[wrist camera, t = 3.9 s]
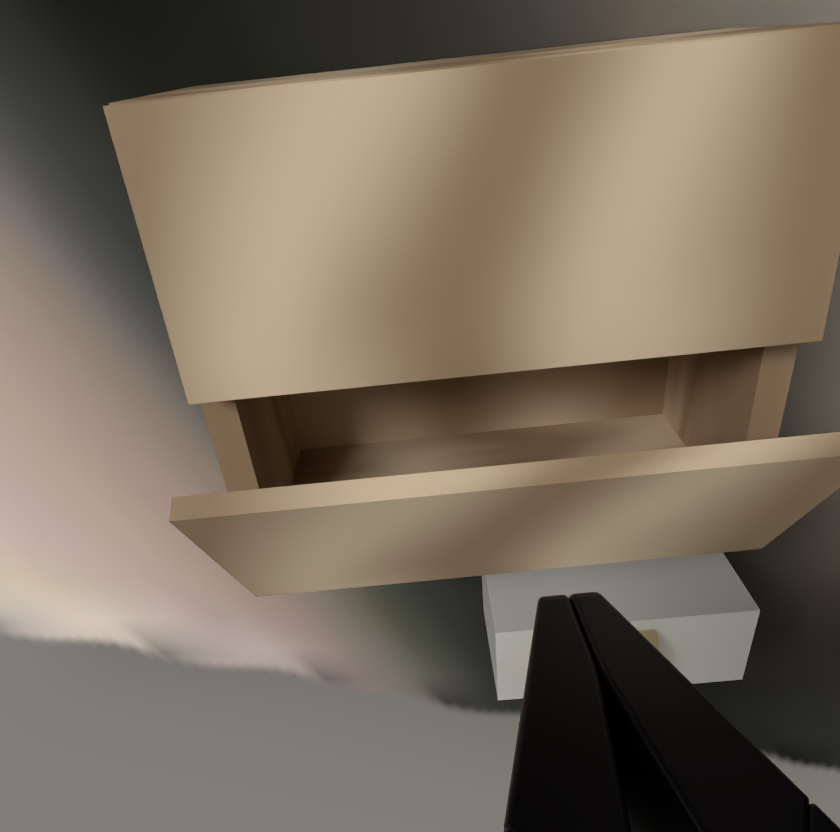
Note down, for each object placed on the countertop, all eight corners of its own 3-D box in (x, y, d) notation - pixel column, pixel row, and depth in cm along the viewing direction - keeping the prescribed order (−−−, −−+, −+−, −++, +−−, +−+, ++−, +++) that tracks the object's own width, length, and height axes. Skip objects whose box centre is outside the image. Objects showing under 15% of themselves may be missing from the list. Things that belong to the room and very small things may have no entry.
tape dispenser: (704, 524, 25) (792, 659, 20) (692, 589, 27) (770, 729, 22) (479, 543, 26) (504, 684, 20) (483, 607, 27) (505, 752, 22)
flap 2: (874, 428, 12) (885, 451, 12) (755, 531, 17) (761, 548, 17) (172, 496, 13) (168, 521, 12) (256, 578, 18) (256, 596, 17)
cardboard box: (723, 28, 17) (870, 20, 12) (674, 419, 23) (757, 530, 18) (196, 86, 17) (108, 102, 12) (286, 458, 23) (254, 578, 18)
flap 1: (866, 24, 12) (885, 21, 11) (809, 333, 14) (822, 340, 14) (114, 106, 12) (102, 106, 11) (194, 394, 14) (188, 404, 14)
